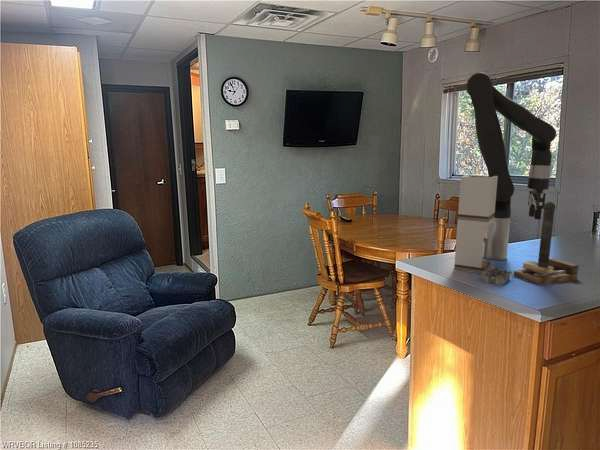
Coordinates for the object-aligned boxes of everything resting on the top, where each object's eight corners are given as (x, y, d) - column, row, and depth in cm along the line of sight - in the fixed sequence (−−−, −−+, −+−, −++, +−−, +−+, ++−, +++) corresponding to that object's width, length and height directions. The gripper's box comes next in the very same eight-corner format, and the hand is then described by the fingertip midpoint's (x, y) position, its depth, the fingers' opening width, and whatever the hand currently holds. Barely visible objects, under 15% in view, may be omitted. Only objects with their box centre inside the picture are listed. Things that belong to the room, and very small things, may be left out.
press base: (539, 284, 152) (540, 270, 151) (513, 275, 162) (514, 262, 161) (578, 279, 158) (580, 265, 157) (551, 270, 168) (552, 257, 167)
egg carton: (501, 286, 151) (502, 274, 150) (479, 281, 156) (480, 270, 155) (513, 279, 158) (514, 268, 158) (491, 274, 164) (492, 264, 163)
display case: (483, 273, 164) (492, 177, 158) (454, 269, 170) (460, 176, 163) (489, 266, 173) (497, 175, 167) (461, 262, 179) (468, 174, 173)
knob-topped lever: (541, 274, 153) (549, 203, 149) (522, 268, 161) (529, 200, 156) (552, 272, 155) (560, 202, 151) (533, 266, 163) (540, 199, 158)
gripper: (524, 176, 184) (519, 215, 187) (533, 177, 171) (528, 219, 173) (544, 176, 183) (539, 216, 185) (555, 178, 169) (549, 220, 171)
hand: (534, 217), depth 179 cm, fingers open, 8 cm apart
